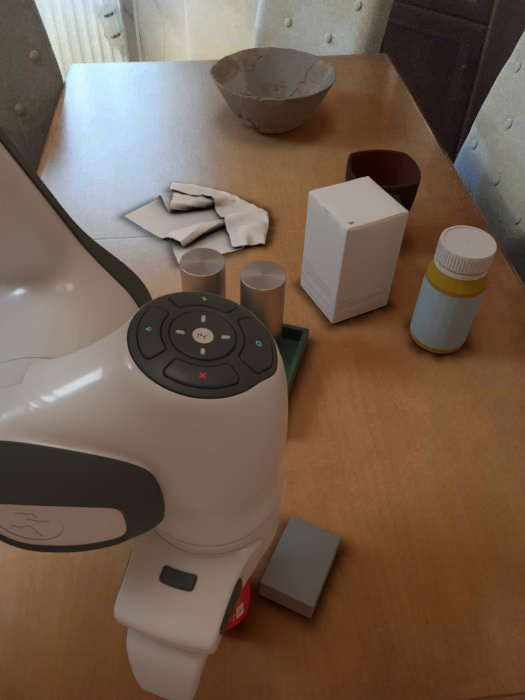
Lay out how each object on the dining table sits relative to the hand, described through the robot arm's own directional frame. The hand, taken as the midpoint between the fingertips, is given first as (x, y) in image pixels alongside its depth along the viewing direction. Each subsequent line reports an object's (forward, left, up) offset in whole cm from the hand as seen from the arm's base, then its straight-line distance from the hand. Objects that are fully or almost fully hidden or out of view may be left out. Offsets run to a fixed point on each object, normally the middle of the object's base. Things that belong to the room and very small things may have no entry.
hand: (218, 584), depth 50 cm
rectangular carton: (+2, +44, -5) cm, 44 cm away
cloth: (-23, +54, -5) cm, 59 cm away
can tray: (-9, +26, -5) cm, 28 cm away
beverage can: (0, 0, -5) cm, 5 cm away
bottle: (+15, +40, -5) cm, 43 cm away
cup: (+4, +56, -5) cm, 56 cm away
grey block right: (+6, +5, -5) cm, 9 cm away
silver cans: (-9, +30, -4) cm, 32 cm away
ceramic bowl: (-21, +88, -5) cm, 91 cm away
